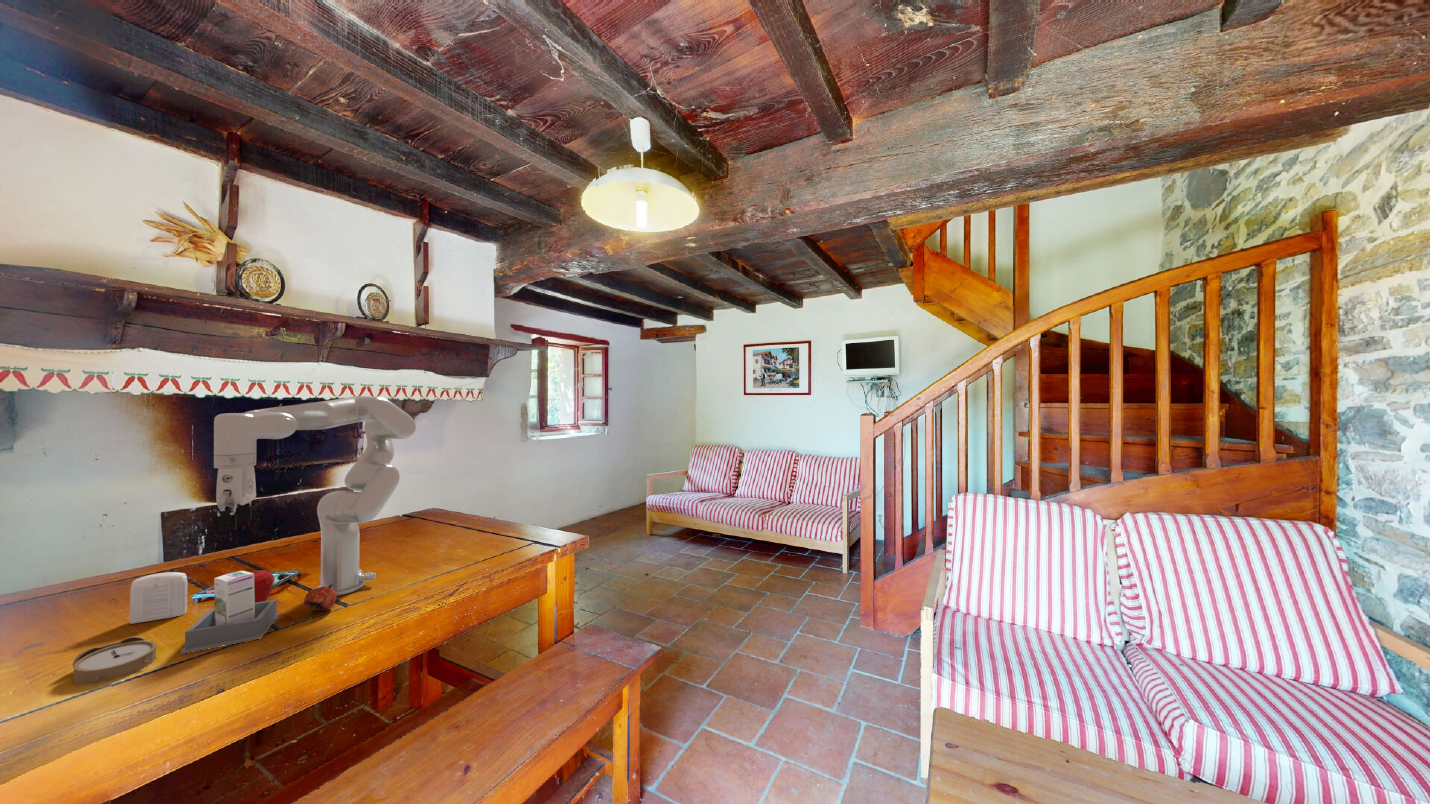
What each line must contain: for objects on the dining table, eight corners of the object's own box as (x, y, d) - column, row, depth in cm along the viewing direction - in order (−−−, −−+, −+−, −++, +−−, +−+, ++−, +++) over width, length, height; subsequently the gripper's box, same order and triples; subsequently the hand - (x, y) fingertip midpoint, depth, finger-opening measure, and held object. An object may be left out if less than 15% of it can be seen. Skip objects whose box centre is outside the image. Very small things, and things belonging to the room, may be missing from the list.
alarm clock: (79, 678, 93) (65, 646, 100) (78, 700, 94) (64, 666, 101) (163, 652, 103) (145, 624, 110) (162, 671, 104) (144, 643, 110)
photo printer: (189, 610, 128) (190, 567, 128) (183, 616, 125) (183, 572, 125) (134, 619, 123) (134, 574, 122) (125, 626, 119) (126, 580, 119)
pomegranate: (323, 624, 126) (351, 591, 134) (303, 611, 122) (333, 577, 129) (305, 623, 128) (333, 590, 136) (284, 610, 124) (315, 577, 132)
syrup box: (256, 626, 118) (256, 572, 118) (225, 637, 113) (225, 580, 112) (243, 622, 120) (243, 569, 120) (212, 633, 114) (213, 577, 114)
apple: (277, 596, 137) (278, 561, 137) (268, 609, 129) (269, 572, 129) (232, 604, 132) (232, 568, 132) (219, 618, 124) (219, 579, 124)
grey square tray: (279, 615, 126) (279, 598, 126) (261, 639, 114) (261, 620, 114) (208, 628, 119) (208, 609, 119) (180, 654, 107) (181, 634, 107)
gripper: (242, 464, 110) (242, 533, 111) (267, 455, 125) (266, 516, 125) (198, 466, 107) (198, 537, 107) (229, 457, 121) (228, 519, 122)
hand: (235, 526), depth 116 cm, fingers open, 9 cm apart
